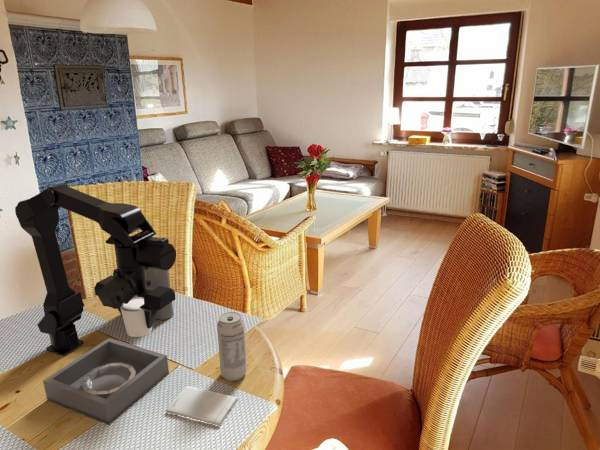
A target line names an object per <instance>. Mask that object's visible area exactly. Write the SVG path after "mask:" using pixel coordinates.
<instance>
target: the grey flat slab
mask: <svg viewBox="0 0 600 450" xmlns="http://www.w3.org/2000/svg"><path fill="white" fill-rule="evenodd" d="M238 398H239V397H237V396H233V395H228V394H225V393H220V392H216V391H211V390H207V389H201V388H199V387H194V386H190V385H186V386H185V387H184V388H183V389H182V390H181V392H180V393H179V394H178V395H177V396H176V397H175V398H174V400H173V401H172V402H171V403H170V404H169V406H168V407H166V409H165V413H166V412H167V413H170V414H175V415H180V416H184V417H189V418H192V419H196V420H200V421H204V422H207V423H211V424H215V425H218V426H220V425H221V424H222V425H223V423H224V422H225V420H226V419H227V417H228V416H229V415H230V413H231V411H232V410H233V408H234V407H235V405H236V404H237V403H238V401H239V399H238ZM170 414H169V415H170ZM227 415H228V416H227ZM225 418H226V419H225ZM224 419H225V420H224ZM223 421H224V422H223ZM222 422H223V423H222ZM222 425H221V426H222ZM221 426H220V427H221Z"/></svg>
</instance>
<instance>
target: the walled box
mask: <svg viewBox="0 0 600 450" xmlns="http://www.w3.org/2000/svg"><path fill="white" fill-rule="evenodd" d="M168 361H169V360H168V355H167V354H163V353H159V352H157V351H154V350H150V349H147V348H144V347H140V346H136V345H134V344H130V343H127V342H123V341H120V340H116V339H114V338H110V337H108V338H107V339H105V340H104V341H102V342H101V343H99V344H97V345H96V346H94V347H93V348H91V349H89V350H88V351H86V352H85V353H84V354H82V355H80V356H79V357H77V358H76V359H74V360H72V361H71V362H70V363H68V364H66V365H64V366H63V367H62V368H60V369H59V370H57V371H56V372H54V373H53V374H50V375H49V376H48V377H46V378H45V379H43V380H42V382H43V386H44V387H43V388H44V392H45V396H46V400H47V401H49V402H51V403H53V404H56V405H58V406H61V407H63V408H66V409H68V410H70V411H73V412H76V413H78V414H80V415H84V416H86V417H88V418H91V419H93V420H95V421H98V422H100V423H103V424H106V425H108V426H110V425H111V424H112V423H113V422H114V421H116V420H117V419H118V418H120V416H122V415H123V414H124V413H125V412H126V411H127V410H128V409H130V408H131V407H132V406H134V405H135V403H137V402H138V401H140V399H141V398H143V397H144V396H145V395H146V394H148V392H149V390H150V391H151V390H152V389H153V388H154V387H155V386H156V384H157V383H158V382H159V383H160V382H161V381H163V378H164V377H165V378H166V377H167V376H169V374H170V372H169V371H170V370H169V363H168ZM110 363H125V364H129V365H132V366H133V368H134V369H135V371H136V376H134V377H133V378H132V379H131V380H129V377H130V374H129V373H127V372H124V371H110V372H108V373H105V374H102V375H99V376H98V377H97V378H95V379H94V380H92V381H91V383H90V385H89V386H88V388H89V389H92V390H94V391H109V390H112V389H114V388H117V387H120V386H121V385H123V384H124V383H125V382H126V381H128V380H129V381H128V382H127V383H126V384H124V385H123V386H122V387H120V388H119V389H118V390H117V391H115V392H114V393H113V394H112V395H110V396H109V397H108V398H107V399H104V398H102V397H99V396H96V395H94V394H91V393H88V392H86V391H83V390H82V385H81V383H82V382H83V380H84V378H85V376H86V375H87V374H89V373H90V372H91V371H93V370H94V369H96V368H98V367H101V366H104V365H107V364H110ZM165 378H164V379H165ZM159 383H158V384H159ZM158 384H157V385H158ZM151 388H152V389H151Z"/></svg>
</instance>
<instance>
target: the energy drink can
mask: <svg viewBox="0 0 600 450" xmlns="http://www.w3.org/2000/svg"><path fill="white" fill-rule="evenodd" d="M216 324H217V325H216V329H217V330H216V331H217V340H218V341H217V343H218V345H217V346H218V356H219V370H220V375H221V376H222V377H223V378H224V379H225V380H226V381H228V382H229V381H230V382H235V381H239V380H242V379H243V378H244V377H245V374H246V373H247V372H248V371H247V369H248V368H247V366H248V365H247V353H246V352H247V350H246V333H245V332H246V331H245V321H244V320H243V319H242V315H241V314H240V313H239V312H236V311H227V312H224V313H222V314H221V315H219V318H218V321H217V323H216Z"/></svg>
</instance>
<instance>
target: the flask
mask: <svg viewBox="0 0 600 450" xmlns="http://www.w3.org/2000/svg"><path fill="white" fill-rule="evenodd" d="M115 264H116V266H117V262H116V261H115ZM145 272H146V280H150V281H151V285H149V286H148V287H147V289H149V290H154V289H155V288H157V287H158V286H162V287H167V288H171V289H172V287H171V280H170V269H169V270H161V269H155V268H149V269H147V270H145ZM133 298H138V297H135V296H134V297H133ZM171 316H172V317H173V316H174V306H173V301H172V302H171V303H169V304H168V305H167V306H165V307H164V308H162V309H161V310H158V312H157V315H156V318H155V320H159V319H160V321H166V320H169V319H171V318H172V317H171ZM170 317H171V318H170ZM168 318H169V319H168ZM165 319H166V320H165Z"/></svg>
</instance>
